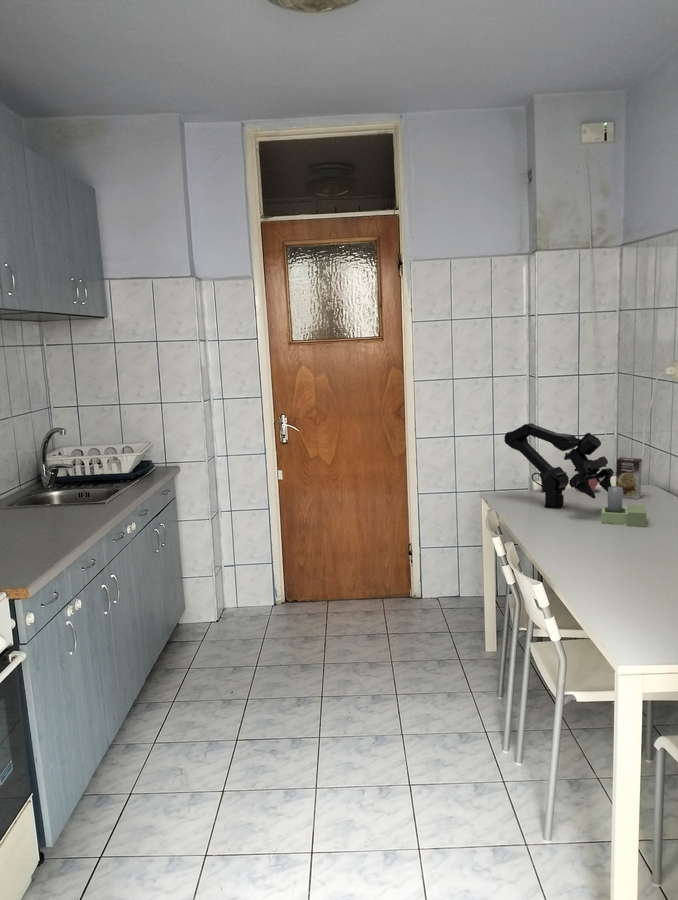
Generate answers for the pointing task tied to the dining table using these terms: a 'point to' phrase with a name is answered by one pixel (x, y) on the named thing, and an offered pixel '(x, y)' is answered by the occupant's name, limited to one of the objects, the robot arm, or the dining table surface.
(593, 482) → the apple
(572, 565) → the dining table surface
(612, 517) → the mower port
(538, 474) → the coffee mug
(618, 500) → the grey rounded post
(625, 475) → the brown cookie box
